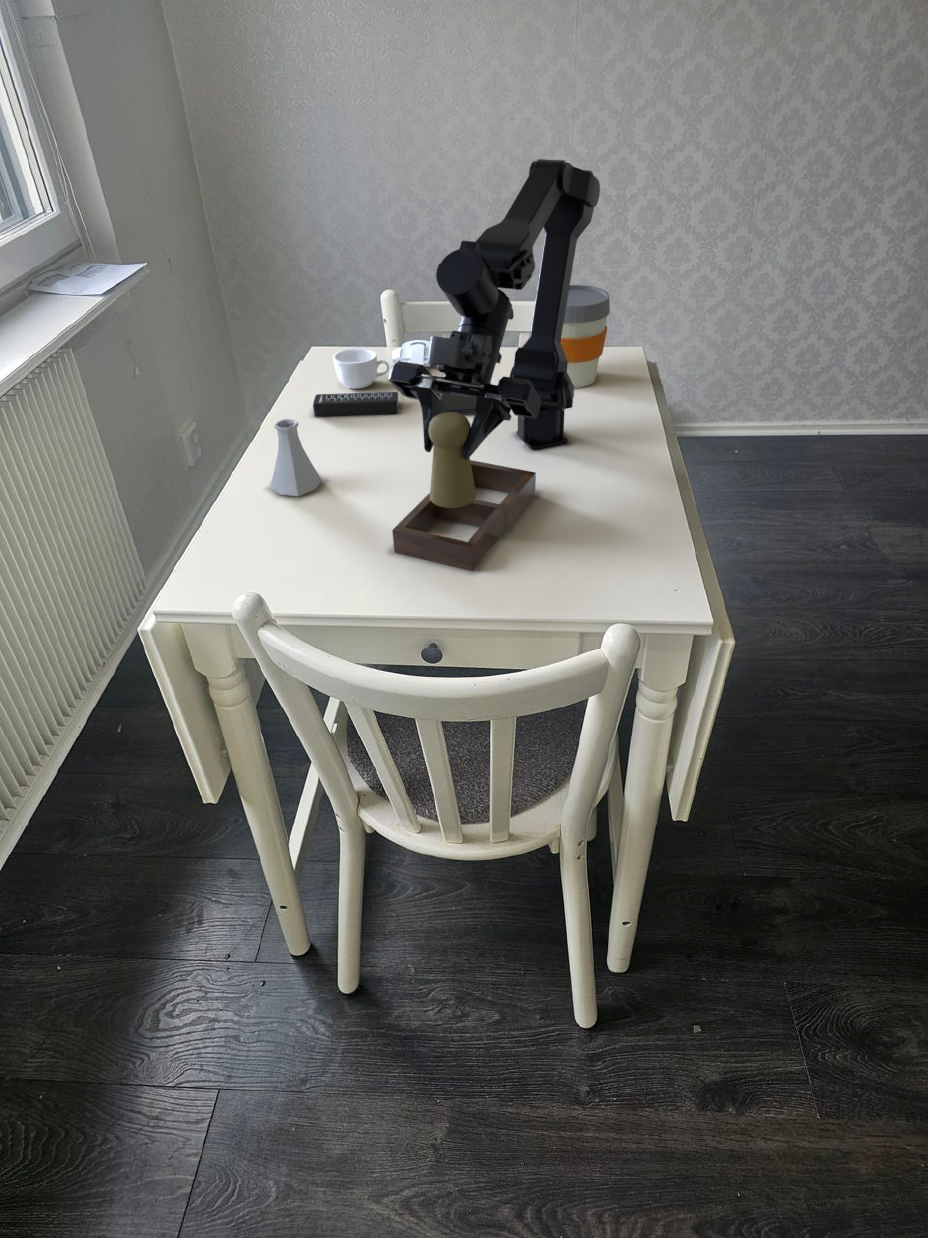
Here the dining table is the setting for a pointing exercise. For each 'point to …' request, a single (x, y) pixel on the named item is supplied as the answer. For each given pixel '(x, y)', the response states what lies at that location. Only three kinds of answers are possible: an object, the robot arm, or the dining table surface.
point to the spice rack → (467, 519)
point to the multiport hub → (356, 404)
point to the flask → (292, 463)
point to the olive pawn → (450, 461)
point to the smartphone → (458, 403)
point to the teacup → (357, 367)
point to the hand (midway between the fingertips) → (445, 454)
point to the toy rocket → (413, 352)
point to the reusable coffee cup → (584, 332)
